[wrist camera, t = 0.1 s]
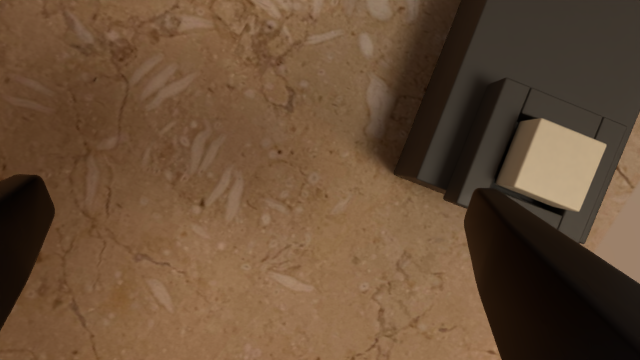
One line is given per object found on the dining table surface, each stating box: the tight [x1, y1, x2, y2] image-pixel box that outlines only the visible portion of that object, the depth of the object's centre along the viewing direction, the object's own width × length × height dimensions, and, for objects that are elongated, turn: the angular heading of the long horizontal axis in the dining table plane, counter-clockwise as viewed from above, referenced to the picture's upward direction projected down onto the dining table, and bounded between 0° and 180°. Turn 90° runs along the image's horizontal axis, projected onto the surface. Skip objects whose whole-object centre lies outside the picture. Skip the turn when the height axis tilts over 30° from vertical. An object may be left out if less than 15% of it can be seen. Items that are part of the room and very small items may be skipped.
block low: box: [394, 0, 640, 244], centre depth 22 cm, size 12×9×7 cm
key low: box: [495, 118, 606, 212], centre depth 18 cm, size 3×3×2 cm
